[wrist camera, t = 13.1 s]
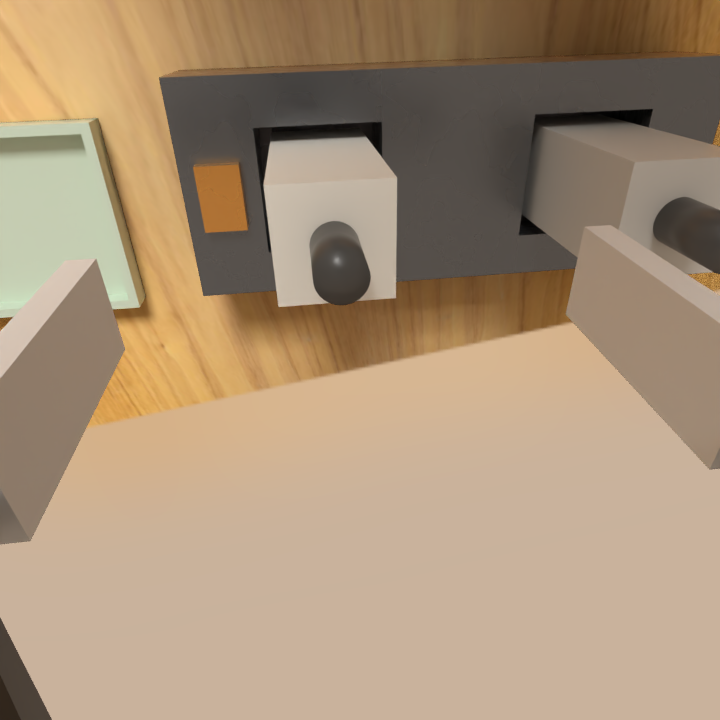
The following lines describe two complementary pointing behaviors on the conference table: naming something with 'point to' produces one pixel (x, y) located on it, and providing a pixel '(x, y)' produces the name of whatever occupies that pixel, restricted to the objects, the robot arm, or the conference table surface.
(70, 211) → the tray
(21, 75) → the conference table surface
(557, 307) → the conference table surface
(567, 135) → the twin plug
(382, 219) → the plug
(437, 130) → the power strip
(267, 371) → the conference table surface
